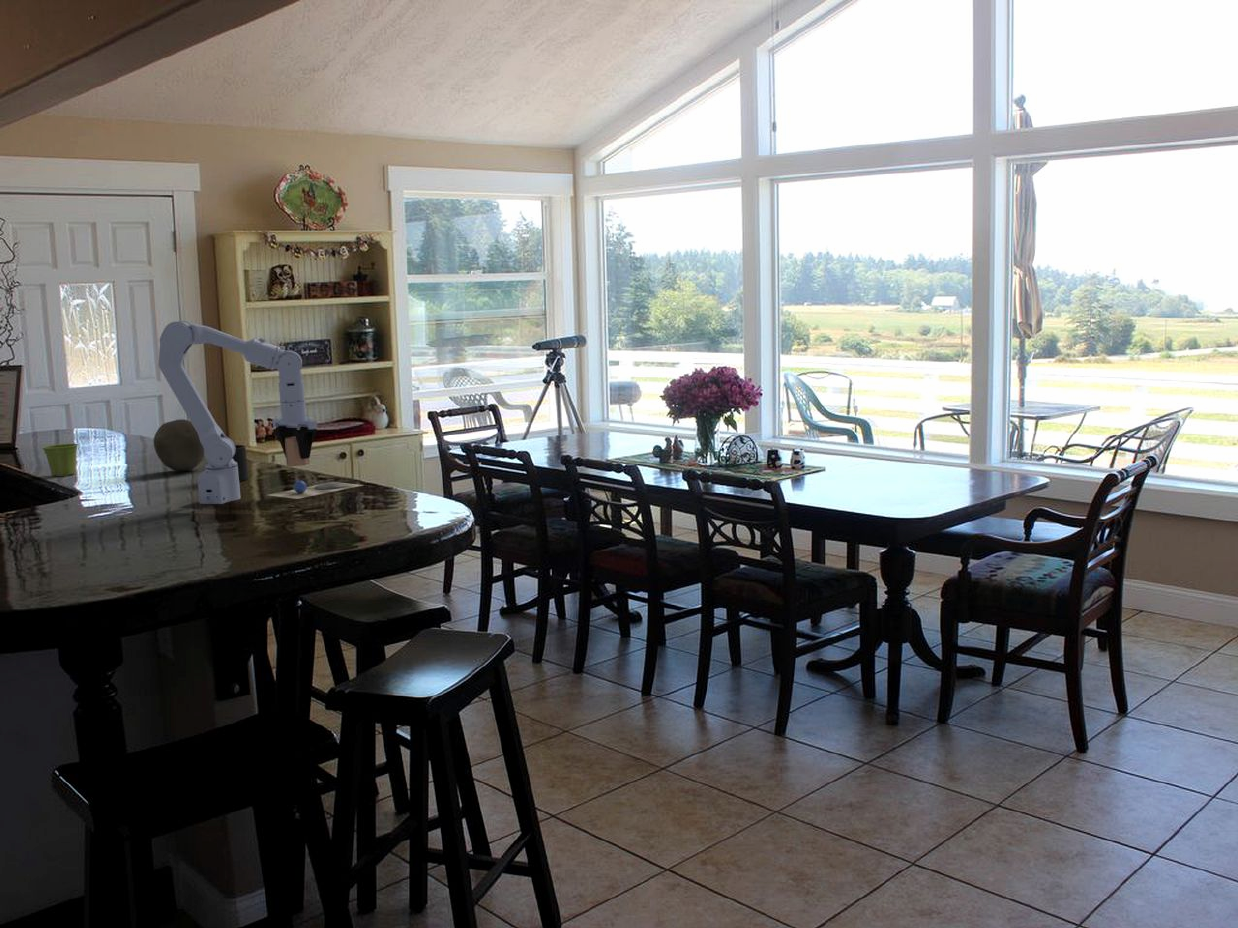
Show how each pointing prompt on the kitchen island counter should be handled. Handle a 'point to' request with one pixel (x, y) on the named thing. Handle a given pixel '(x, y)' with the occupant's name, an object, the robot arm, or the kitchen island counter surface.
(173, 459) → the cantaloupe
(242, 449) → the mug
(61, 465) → the plant pot
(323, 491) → the board
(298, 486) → the marble
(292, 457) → the wooden block
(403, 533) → the kitchen island counter surface
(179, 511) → the kitchen island counter surface
